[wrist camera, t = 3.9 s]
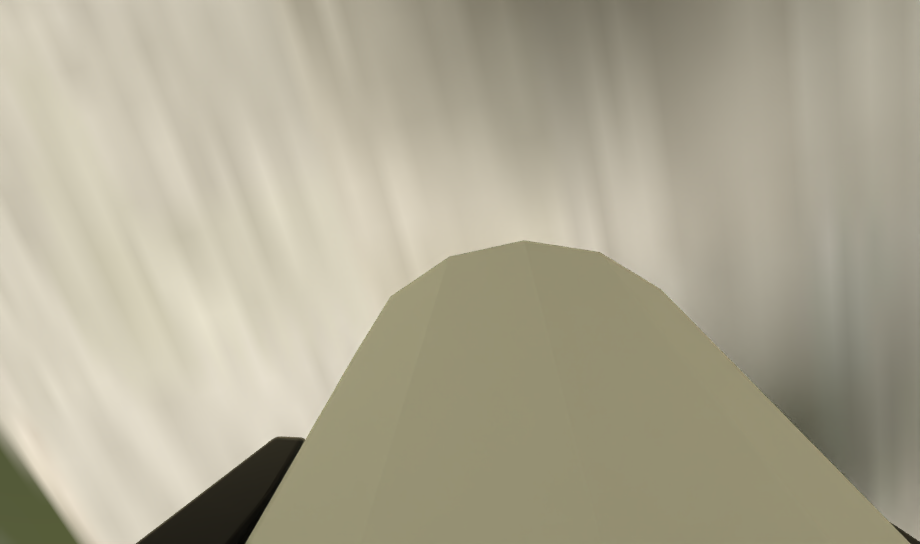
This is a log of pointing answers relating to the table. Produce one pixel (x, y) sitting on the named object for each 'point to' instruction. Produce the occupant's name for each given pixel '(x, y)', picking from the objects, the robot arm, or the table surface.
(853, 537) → the cream short cylinder
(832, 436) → the table surface
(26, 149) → the table surface
